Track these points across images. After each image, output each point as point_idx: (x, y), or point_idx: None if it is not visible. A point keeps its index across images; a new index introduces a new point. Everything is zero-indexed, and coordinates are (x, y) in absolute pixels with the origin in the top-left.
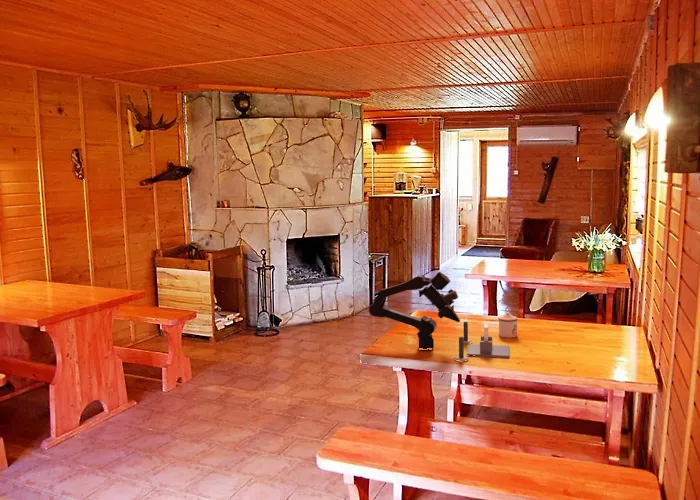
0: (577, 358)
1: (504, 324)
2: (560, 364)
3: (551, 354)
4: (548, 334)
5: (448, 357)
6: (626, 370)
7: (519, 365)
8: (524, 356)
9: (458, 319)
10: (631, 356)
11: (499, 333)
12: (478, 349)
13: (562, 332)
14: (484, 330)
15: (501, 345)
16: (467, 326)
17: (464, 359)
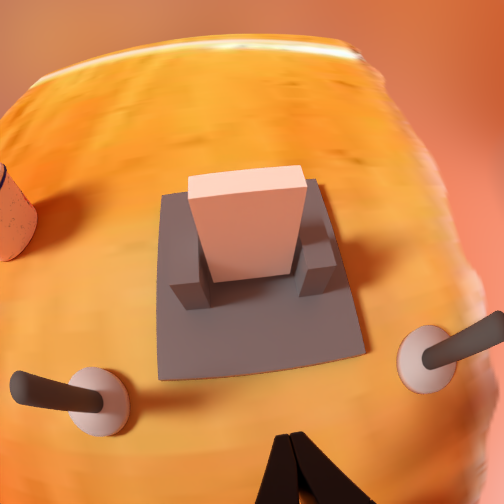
0: (245, 75)
1: (2, 207)
2: (311, 92)
3: (224, 104)
4: (34, 146)
5: (410, 431)
6: (296, 45)
7: (377, 158)
8: (271, 149)
9: (320, 451)
10: (207, 42)
11: (8, 253)
12: (260, 313)
13: (29, 131)
14: (302, 202)
15: (161, 221)
16: (44, 379)
17: (446, 335)
